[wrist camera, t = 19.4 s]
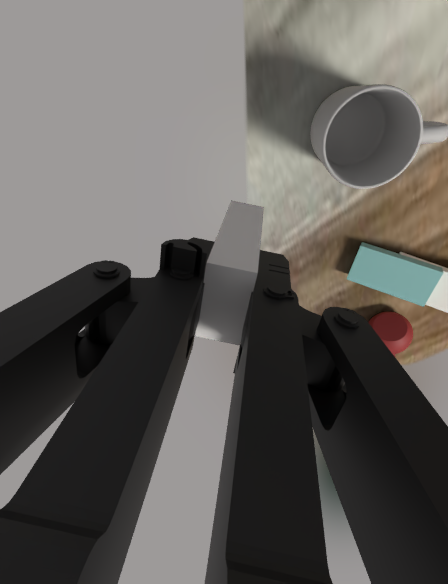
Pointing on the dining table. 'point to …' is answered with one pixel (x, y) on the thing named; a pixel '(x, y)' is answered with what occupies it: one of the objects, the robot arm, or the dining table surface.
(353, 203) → the dining table surface
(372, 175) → the mug
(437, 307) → the domino
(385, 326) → the fruit
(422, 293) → the domino
